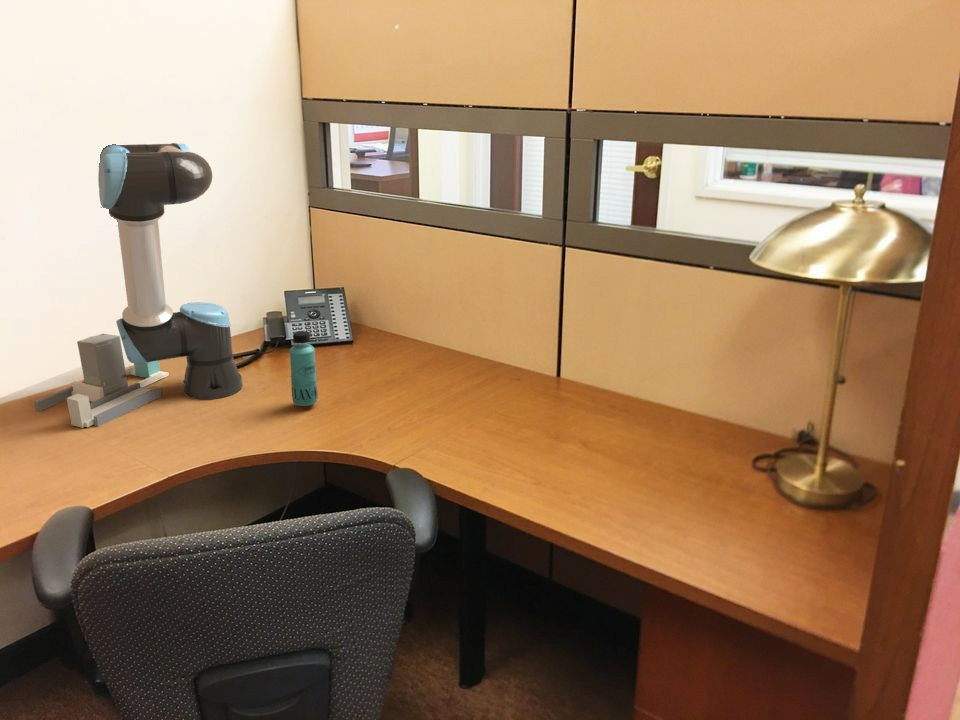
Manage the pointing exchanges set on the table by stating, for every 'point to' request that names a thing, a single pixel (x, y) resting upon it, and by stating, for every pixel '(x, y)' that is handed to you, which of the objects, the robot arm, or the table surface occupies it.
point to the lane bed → (109, 413)
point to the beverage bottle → (303, 370)
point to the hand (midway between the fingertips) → (128, 266)
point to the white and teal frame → (139, 369)
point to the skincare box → (103, 362)
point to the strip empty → (85, 415)
